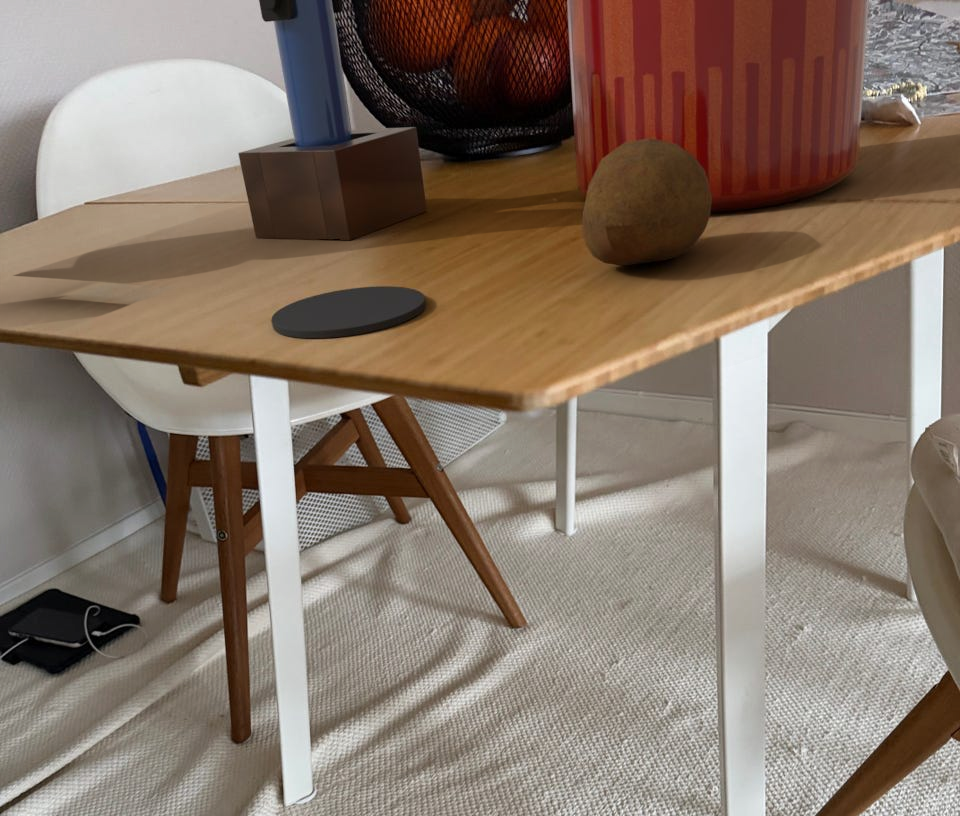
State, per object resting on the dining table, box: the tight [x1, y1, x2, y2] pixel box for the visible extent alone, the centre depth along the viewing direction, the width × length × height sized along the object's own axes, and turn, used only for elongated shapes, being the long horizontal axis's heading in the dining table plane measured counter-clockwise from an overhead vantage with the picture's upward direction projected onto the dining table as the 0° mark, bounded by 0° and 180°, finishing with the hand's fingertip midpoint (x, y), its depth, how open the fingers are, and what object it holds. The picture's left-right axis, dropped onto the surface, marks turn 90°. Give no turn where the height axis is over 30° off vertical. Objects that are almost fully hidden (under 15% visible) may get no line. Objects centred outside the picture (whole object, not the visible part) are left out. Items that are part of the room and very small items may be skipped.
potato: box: [582, 138, 712, 266], centre depth 71 cm, size 8×12×8 cm, turn 158°
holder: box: [237, 126, 428, 241], centre depth 96 cm, size 11×11×7 cm
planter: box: [566, 0, 870, 214], centre depth 87 cm, size 23×23×20 cm
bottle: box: [273, 0, 353, 147], centre depth 91 cm, size 5×5×16 cm
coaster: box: [270, 285, 427, 339], centre depth 70 cm, size 10×10×1 cm
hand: (303, 14), depth 89 cm, fingers closed on bottle, 5 cm apart
